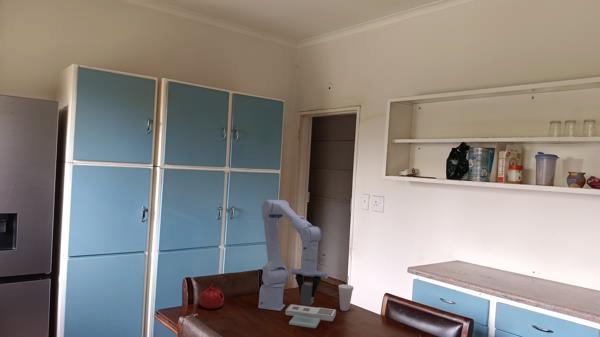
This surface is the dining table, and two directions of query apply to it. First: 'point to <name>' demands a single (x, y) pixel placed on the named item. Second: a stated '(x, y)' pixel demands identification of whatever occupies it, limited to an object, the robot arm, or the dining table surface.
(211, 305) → the pomegranate
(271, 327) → the dining table surface
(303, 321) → the tile
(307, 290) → the block
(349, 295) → the smoothie
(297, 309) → the power strip
